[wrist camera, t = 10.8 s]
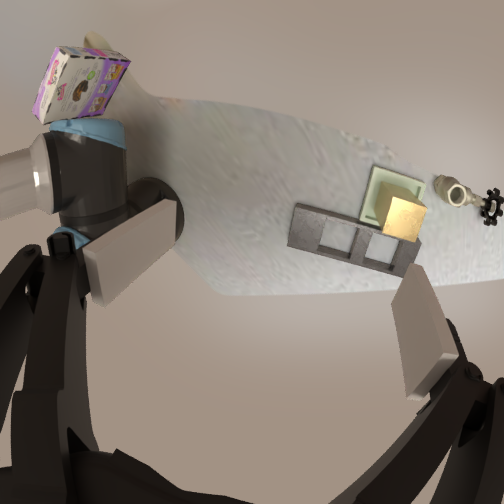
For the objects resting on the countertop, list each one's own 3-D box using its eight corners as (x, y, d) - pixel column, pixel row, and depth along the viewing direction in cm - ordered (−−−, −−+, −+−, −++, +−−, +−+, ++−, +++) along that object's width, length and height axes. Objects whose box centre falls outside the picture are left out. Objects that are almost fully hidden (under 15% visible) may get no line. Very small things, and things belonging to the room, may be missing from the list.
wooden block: (373, 209, 43) (382, 232, 34) (381, 180, 40) (393, 196, 32) (400, 218, 42) (414, 242, 33) (409, 189, 39) (427, 208, 31)
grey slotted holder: (289, 240, 50) (286, 246, 48) (297, 203, 46) (295, 207, 44) (404, 271, 46) (406, 278, 44) (418, 237, 43) (421, 243, 40)
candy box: (116, 50, 41) (56, 44, 27) (132, 61, 42) (69, 55, 28) (88, 103, 48) (29, 111, 34) (102, 116, 49) (41, 126, 35)
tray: (358, 216, 44) (359, 220, 43) (372, 164, 40) (374, 166, 38) (406, 231, 43) (409, 235, 41) (422, 181, 38) (426, 184, 37)
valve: (427, 200, 40) (480, 219, 37) (440, 212, 34) (496, 233, 32) (437, 162, 36) (490, 185, 34) (451, 169, 31) (508, 195, 28)
